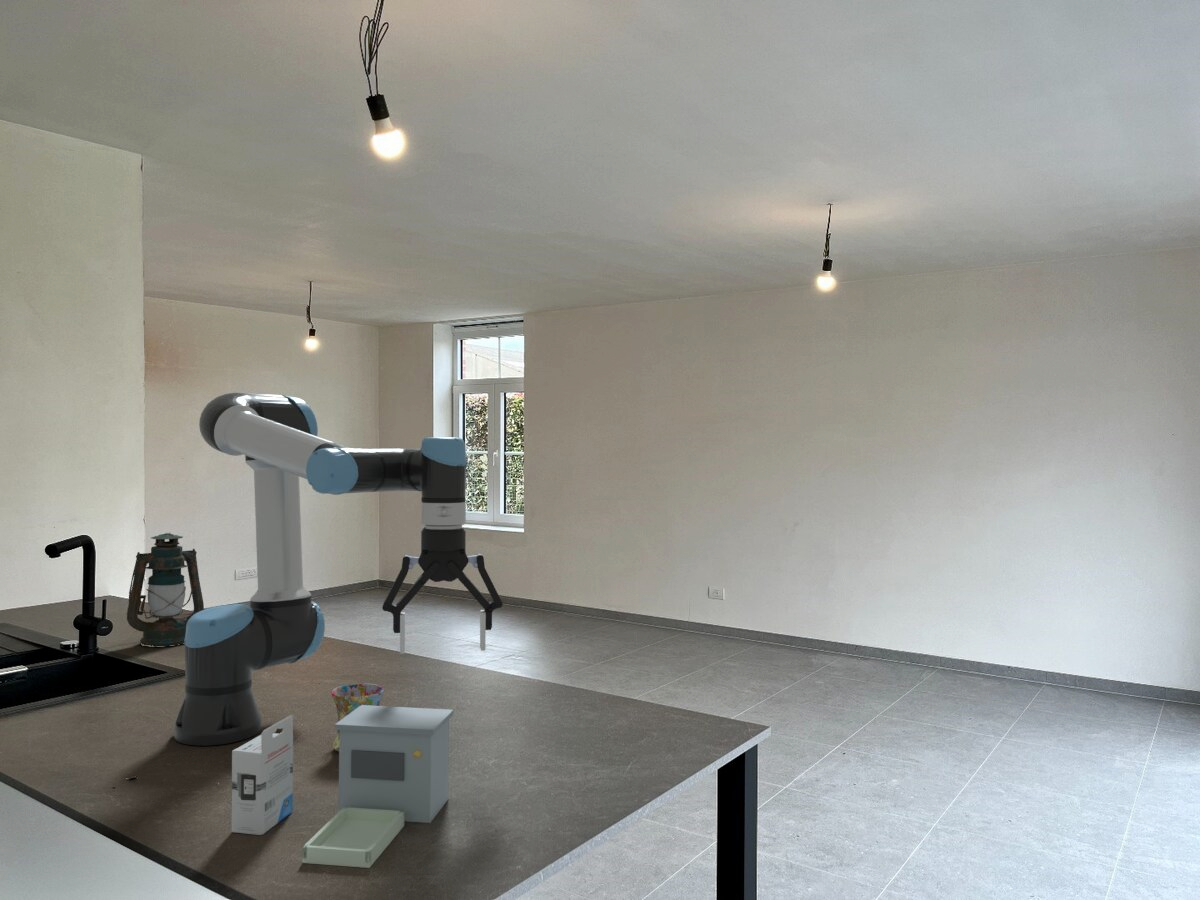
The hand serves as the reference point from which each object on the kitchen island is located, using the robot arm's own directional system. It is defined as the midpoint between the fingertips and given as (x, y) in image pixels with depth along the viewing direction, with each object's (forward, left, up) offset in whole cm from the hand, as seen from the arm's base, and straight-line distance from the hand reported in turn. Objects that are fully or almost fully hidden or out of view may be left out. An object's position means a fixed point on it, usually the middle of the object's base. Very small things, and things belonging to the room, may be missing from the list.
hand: (442, 650), depth 155 cm
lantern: (-102, +78, -20) cm, 130 cm away
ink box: (-18, -27, -20) cm, 38 cm away
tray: (-2, -31, -20) cm, 37 cm away
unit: (-1, -19, -20) cm, 27 cm away
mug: (-18, +6, -20) cm, 28 cm away
